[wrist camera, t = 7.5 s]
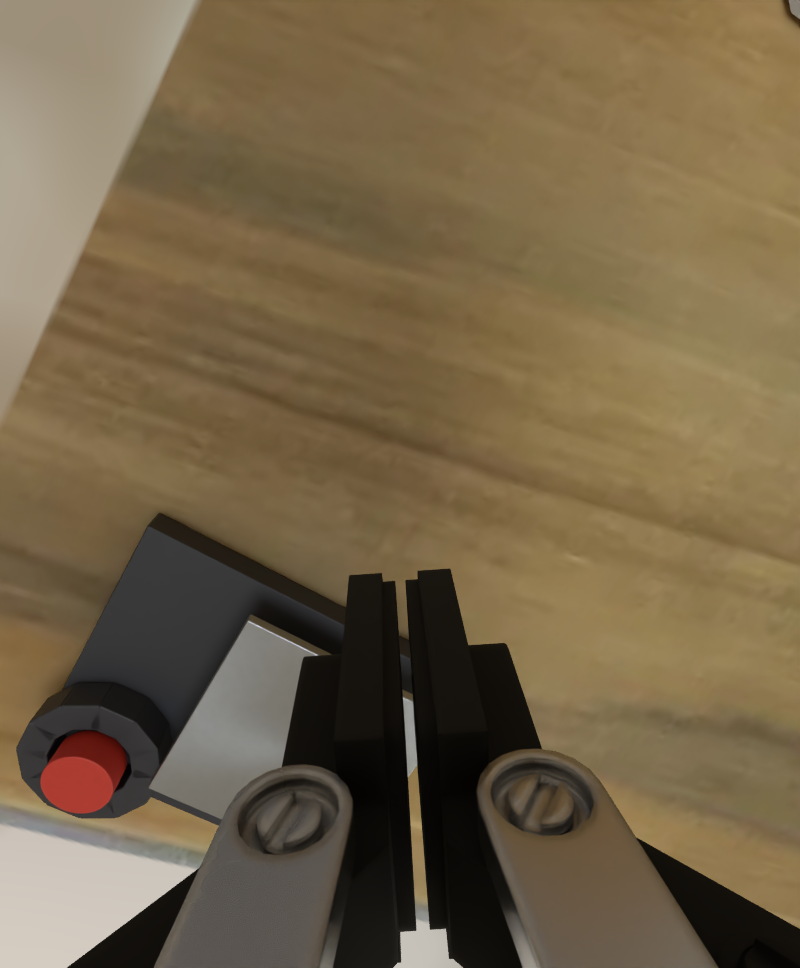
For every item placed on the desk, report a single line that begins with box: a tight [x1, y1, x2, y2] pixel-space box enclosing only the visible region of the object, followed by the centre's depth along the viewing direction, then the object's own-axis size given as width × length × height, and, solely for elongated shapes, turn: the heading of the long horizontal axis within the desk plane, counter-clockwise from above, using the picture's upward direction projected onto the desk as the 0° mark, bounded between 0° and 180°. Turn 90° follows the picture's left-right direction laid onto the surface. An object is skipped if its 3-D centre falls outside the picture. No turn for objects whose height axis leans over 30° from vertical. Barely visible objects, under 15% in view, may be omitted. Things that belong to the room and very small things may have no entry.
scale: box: [16, 513, 412, 826], centre depth 28 cm, size 15×13×3 cm
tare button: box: [41, 730, 127, 814], centre depth 26 cm, size 3×3×2 cm
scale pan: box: [148, 614, 417, 819], centre depth 26 cm, size 9×9×1 cm
